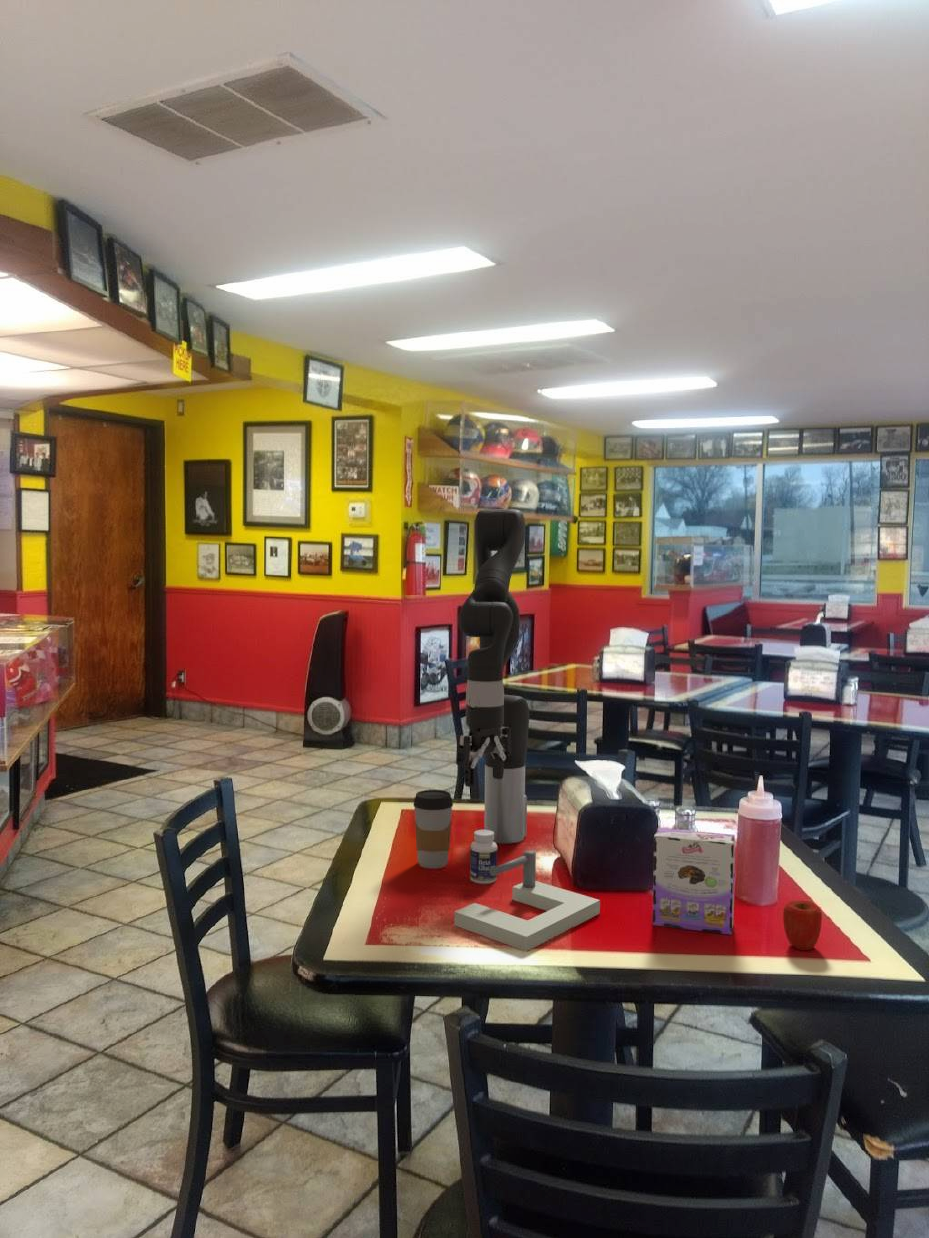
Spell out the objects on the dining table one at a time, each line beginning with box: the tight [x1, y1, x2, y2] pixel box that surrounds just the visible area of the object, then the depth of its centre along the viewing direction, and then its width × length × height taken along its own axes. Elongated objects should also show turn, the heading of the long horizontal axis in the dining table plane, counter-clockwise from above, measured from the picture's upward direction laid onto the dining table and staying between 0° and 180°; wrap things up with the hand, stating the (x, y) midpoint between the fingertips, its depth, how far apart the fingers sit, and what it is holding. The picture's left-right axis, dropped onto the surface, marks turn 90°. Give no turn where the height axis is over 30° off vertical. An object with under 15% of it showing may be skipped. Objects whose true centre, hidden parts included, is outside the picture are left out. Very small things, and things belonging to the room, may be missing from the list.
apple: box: [782, 900, 823, 951], centre depth 157 cm, size 6×6×8 cm
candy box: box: [651, 827, 736, 935], centre depth 166 cm, size 14×6×16 cm, turn 71°
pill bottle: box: [469, 829, 498, 885], centre depth 187 cm, size 5×5×10 cm
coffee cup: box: [413, 789, 454, 869], centre depth 196 cm, size 8×8×15 cm
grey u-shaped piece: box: [453, 849, 601, 952], centre depth 167 cm, size 22×16×9 cm
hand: (484, 782), depth 186 cm, fingers open, 8 cm apart
